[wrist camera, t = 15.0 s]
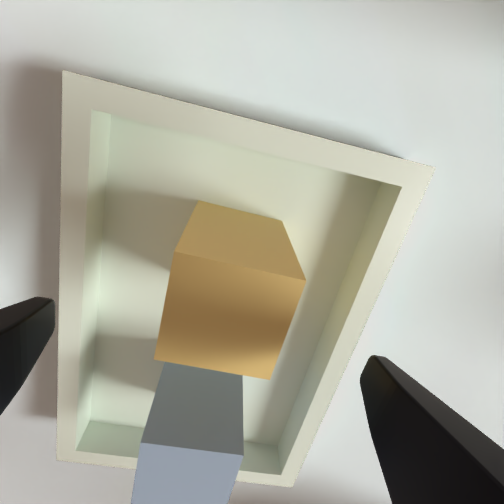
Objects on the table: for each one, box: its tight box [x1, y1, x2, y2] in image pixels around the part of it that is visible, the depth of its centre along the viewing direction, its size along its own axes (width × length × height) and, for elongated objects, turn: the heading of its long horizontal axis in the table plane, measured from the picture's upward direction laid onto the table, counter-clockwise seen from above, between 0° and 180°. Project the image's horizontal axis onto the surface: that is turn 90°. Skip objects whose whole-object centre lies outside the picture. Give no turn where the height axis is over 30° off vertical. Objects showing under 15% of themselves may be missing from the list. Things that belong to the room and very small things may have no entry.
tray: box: [56, 70, 436, 488], centre depth 17 cm, size 20×14×2 cm
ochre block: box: [154, 200, 306, 380], centre depth 13 cm, size 4×4×6 cm
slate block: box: [131, 362, 244, 504], centre depth 16 cm, size 4×4×6 cm
